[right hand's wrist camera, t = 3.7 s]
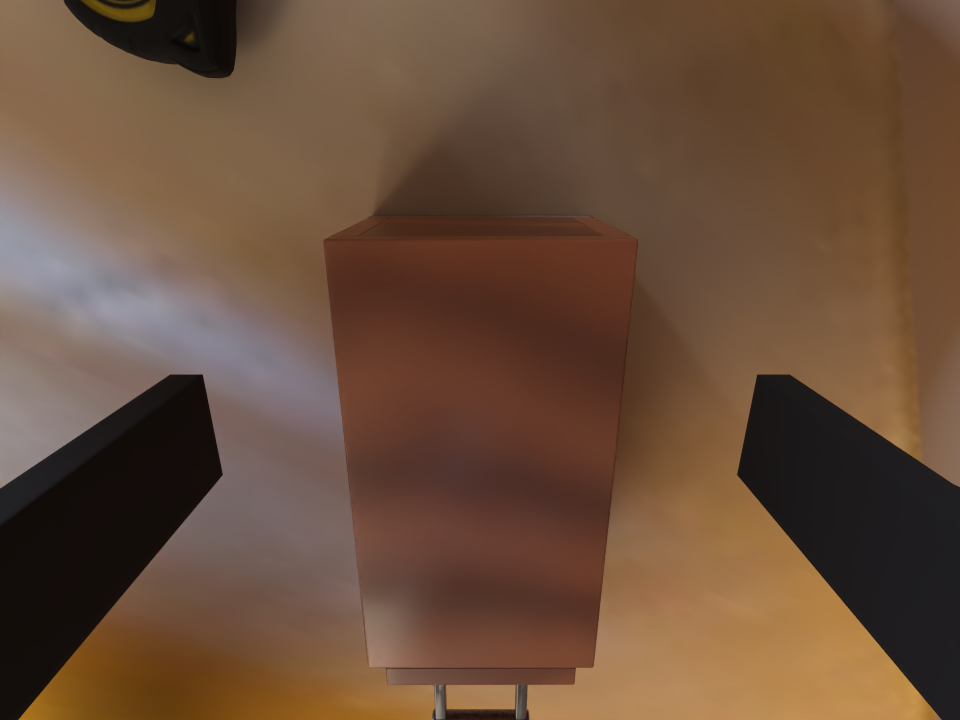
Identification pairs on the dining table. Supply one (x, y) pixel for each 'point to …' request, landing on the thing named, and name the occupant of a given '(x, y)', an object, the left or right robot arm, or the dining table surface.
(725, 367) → the dining table surface
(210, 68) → the tape measure
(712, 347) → the dining table surface
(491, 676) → the drawer
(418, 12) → the dining table surface
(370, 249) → the cabinet
